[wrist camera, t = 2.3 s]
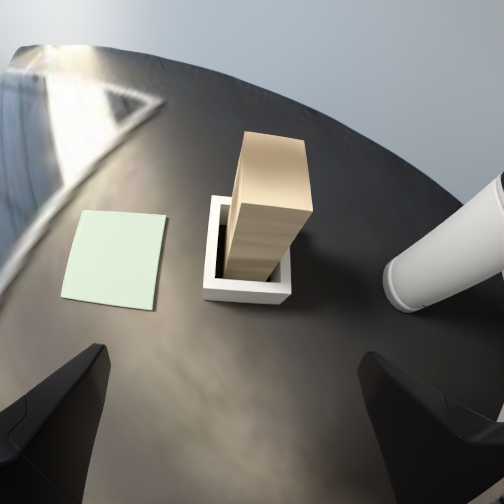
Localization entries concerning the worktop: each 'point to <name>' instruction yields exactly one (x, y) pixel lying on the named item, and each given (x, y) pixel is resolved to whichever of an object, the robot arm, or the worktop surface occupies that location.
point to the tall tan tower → (265, 205)
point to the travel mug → (451, 254)
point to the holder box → (240, 289)
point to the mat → (115, 259)
